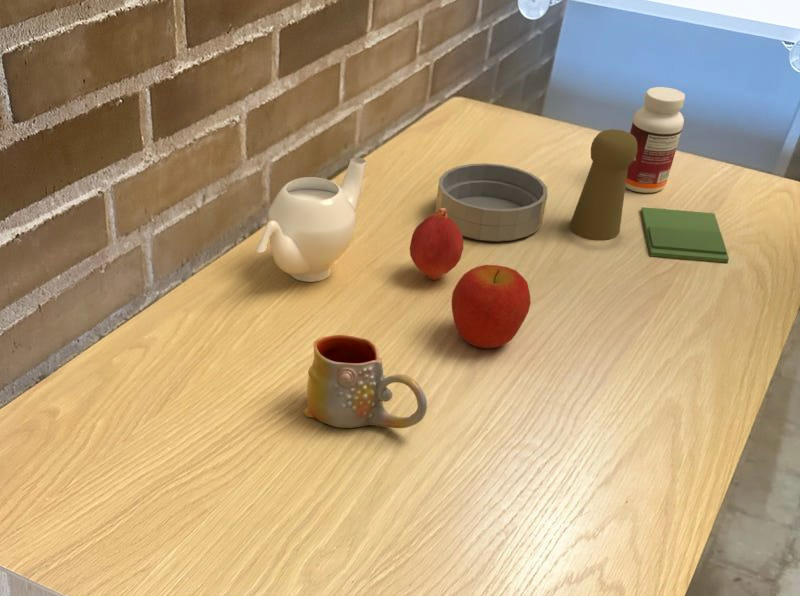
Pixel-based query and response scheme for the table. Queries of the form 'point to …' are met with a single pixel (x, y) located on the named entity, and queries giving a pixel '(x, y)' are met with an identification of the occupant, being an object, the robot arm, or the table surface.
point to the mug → (354, 385)
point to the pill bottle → (655, 139)
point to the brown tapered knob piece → (604, 186)
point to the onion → (436, 245)
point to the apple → (490, 305)
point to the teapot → (313, 223)
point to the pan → (492, 201)
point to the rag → (683, 235)
